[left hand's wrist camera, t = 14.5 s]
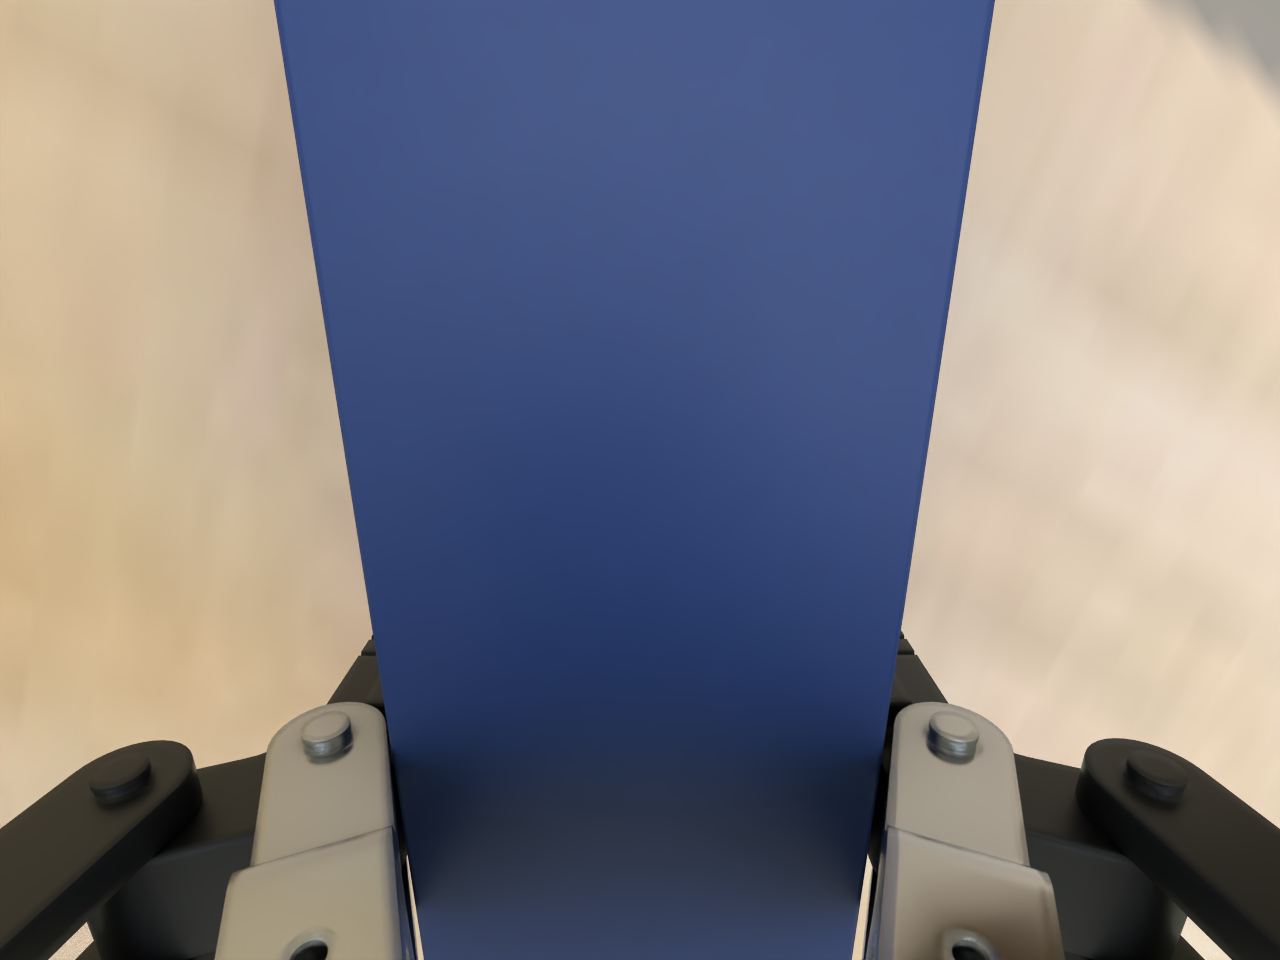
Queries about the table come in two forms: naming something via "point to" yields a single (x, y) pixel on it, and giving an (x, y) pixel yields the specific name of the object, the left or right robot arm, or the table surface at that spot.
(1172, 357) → the table surface
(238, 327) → the table surface
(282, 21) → the bar
